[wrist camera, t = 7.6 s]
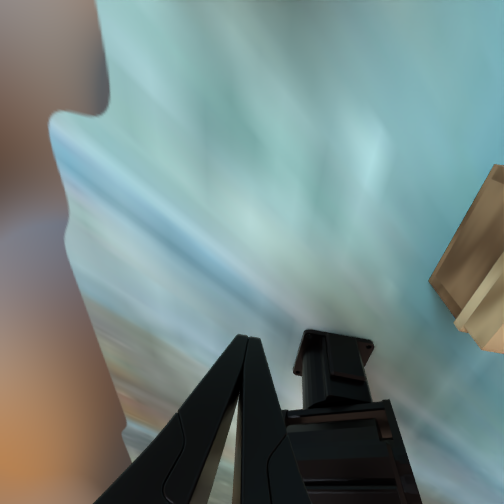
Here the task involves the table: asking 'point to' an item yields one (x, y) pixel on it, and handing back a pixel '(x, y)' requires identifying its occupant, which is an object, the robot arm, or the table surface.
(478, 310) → the lid
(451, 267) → the walnut box
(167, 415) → the table surface
